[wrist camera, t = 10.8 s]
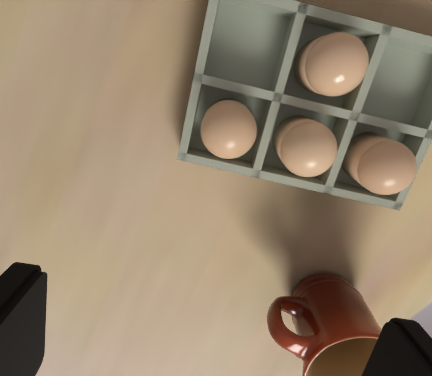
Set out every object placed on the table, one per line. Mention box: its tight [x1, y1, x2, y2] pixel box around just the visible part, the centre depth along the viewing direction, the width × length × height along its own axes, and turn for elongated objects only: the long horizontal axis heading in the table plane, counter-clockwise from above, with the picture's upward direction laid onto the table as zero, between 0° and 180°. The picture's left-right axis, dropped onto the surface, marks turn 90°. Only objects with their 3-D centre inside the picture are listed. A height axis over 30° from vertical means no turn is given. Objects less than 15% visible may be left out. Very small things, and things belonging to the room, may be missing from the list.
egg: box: [294, 32, 369, 96], centre depth 25 cm, size 4×4×6 cm
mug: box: [267, 273, 382, 376], centre depth 31 cm, size 12×9×10 cm
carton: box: [177, 0, 432, 210], centre depth 26 cm, size 20×14×7 cm
